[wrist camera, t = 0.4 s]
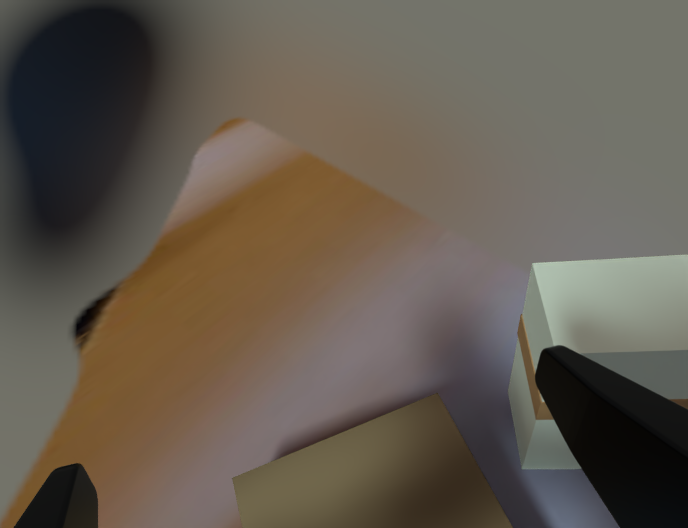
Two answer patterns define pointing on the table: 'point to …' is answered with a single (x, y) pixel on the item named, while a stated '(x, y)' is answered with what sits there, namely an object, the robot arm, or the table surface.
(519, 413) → the carton
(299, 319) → the table surface
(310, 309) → the table surface
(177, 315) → the table surface
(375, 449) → the base
